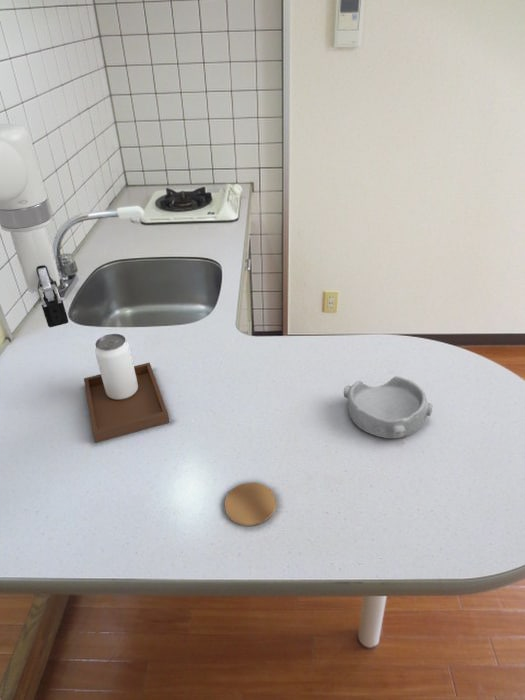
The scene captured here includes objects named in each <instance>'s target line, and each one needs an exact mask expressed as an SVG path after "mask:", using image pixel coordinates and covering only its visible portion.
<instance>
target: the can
mask: <svg viewBox="0 0 525 700" xmlns="http://www.w3.org/2000/svg"><path fill="white" fill-rule="evenodd" d="M94 353H95V354H94V355H95V358H96V361H97V365H98V369H99V373H100V374H101V377H102V381H103V384H104V388H105V391H106V394H107V396H108V397H110V398H112V399H114V400H123V399H127V398H129V397H131V396H132V395H134V394H135V392H136V391H137V389H138V383H137V378H136V374H135V369H134V366H135V365H134V361H133V355H132V352H131V348H130V344H129V343H128V341H127V339H126V337H125V336H124V335H123V334H119V333H109V334H105V335H102V336H101V337H100V338H99V337H98V339H97V340H96V341H95V350H94Z"/></svg>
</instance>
